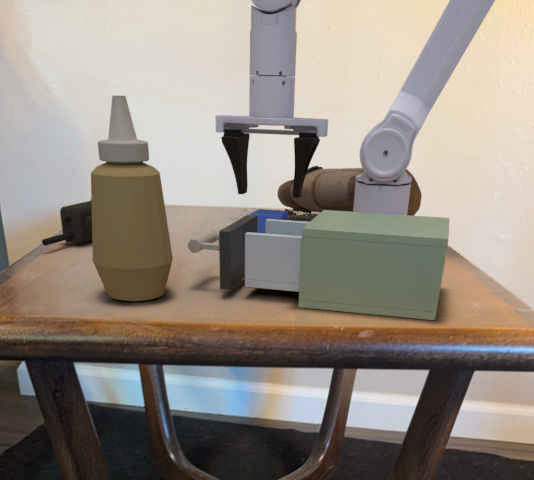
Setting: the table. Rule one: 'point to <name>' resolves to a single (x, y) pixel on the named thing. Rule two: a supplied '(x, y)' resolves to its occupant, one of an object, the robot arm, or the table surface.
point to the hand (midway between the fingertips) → (269, 195)
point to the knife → (290, 212)
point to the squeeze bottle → (128, 214)
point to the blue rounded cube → (268, 217)
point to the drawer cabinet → (373, 263)
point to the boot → (334, 191)
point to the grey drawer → (256, 253)
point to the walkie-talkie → (74, 224)
